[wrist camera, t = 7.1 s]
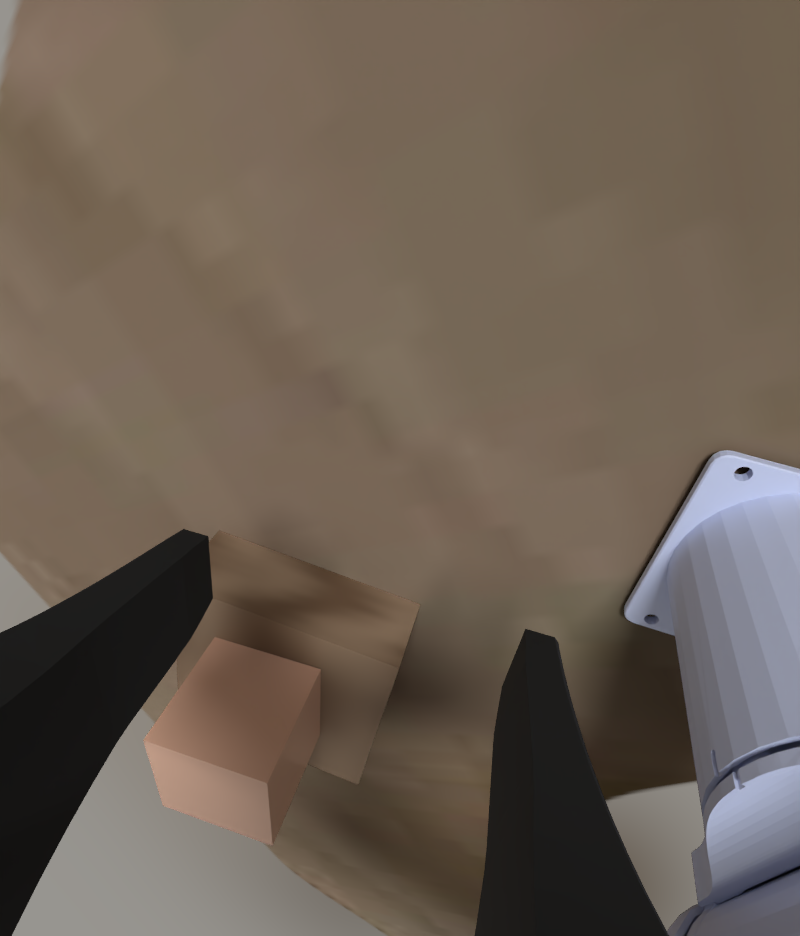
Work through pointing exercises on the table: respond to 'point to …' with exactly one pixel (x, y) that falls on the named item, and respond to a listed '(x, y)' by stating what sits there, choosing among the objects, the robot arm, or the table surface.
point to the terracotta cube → (237, 739)
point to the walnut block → (310, 638)
